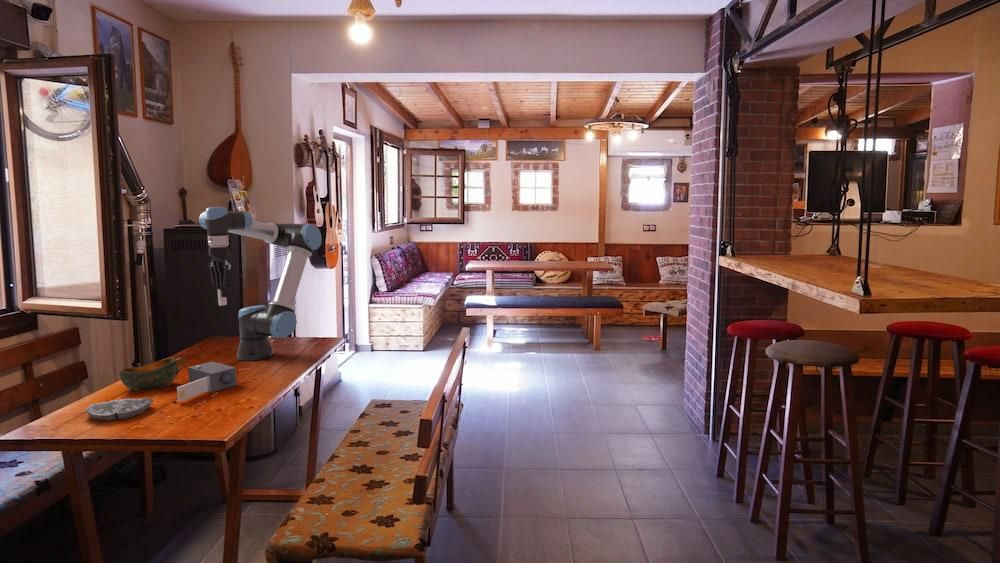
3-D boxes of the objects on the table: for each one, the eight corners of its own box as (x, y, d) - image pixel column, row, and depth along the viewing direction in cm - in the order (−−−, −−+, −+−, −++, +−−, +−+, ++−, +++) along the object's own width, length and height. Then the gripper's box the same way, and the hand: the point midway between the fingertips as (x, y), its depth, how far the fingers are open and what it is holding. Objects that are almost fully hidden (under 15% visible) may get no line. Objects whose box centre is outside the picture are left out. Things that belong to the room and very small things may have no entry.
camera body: (213, 378, 252) (212, 360, 251) (239, 385, 243) (238, 366, 241) (189, 384, 244) (187, 365, 243) (215, 392, 234) (213, 372, 233)
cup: (175, 390, 237) (172, 364, 235) (118, 393, 234) (115, 367, 233) (187, 380, 250) (185, 356, 248) (133, 383, 247) (131, 358, 246)
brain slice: (80, 427, 201) (79, 418, 200) (90, 411, 216) (89, 402, 216) (150, 418, 208) (149, 410, 208) (155, 403, 224) (154, 395, 223)
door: (177, 403, 222) (176, 387, 221) (209, 391, 236) (208, 376, 235) (181, 403, 222) (180, 387, 221) (212, 391, 235) (211, 376, 234)
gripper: (200, 246, 248) (204, 305, 251) (220, 247, 241) (224, 308, 245) (217, 244, 254) (221, 302, 258) (237, 246, 248) (241, 305, 251)
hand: (222, 305), depth 251 cm, fingers closed
